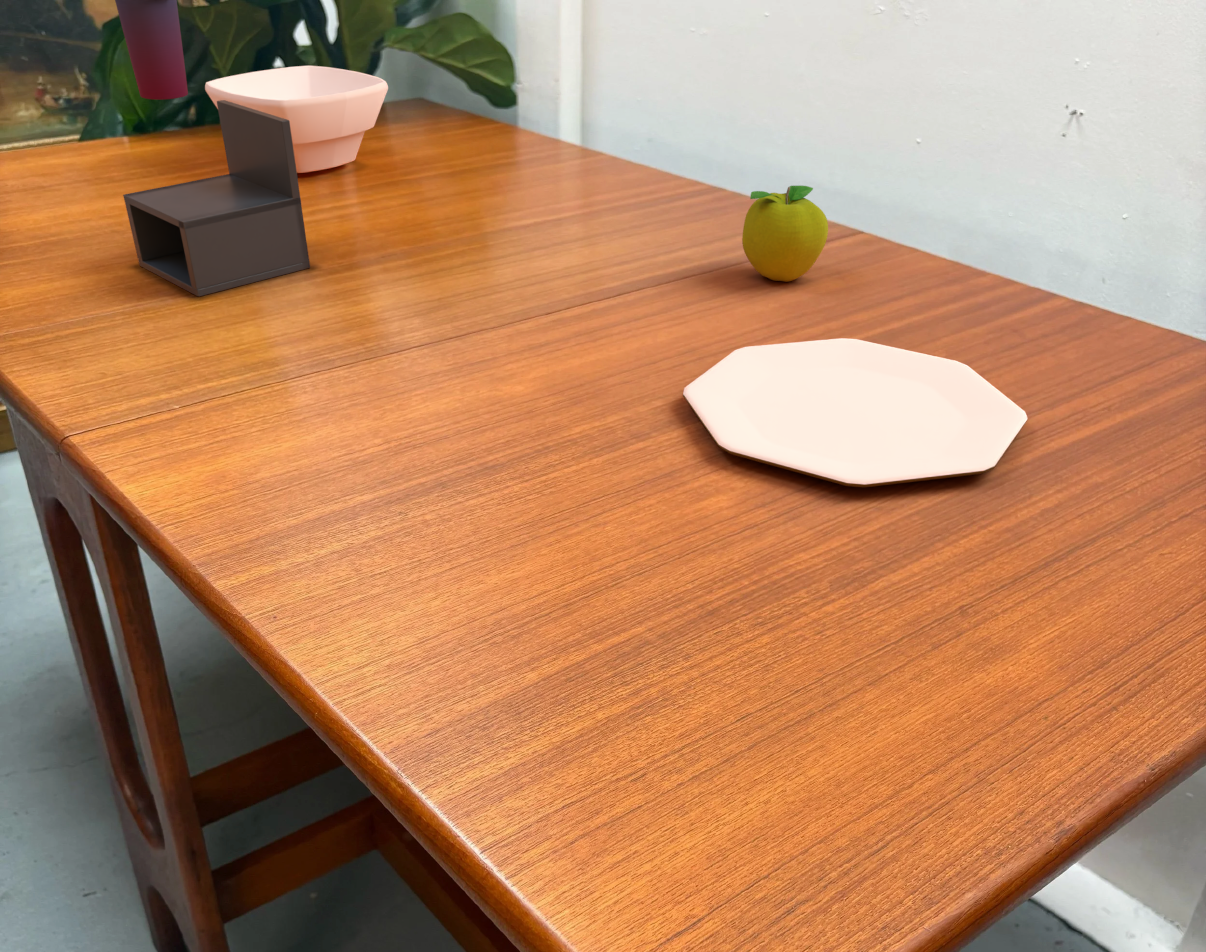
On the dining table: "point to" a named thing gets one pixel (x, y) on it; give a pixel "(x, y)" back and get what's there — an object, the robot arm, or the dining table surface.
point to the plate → (855, 412)
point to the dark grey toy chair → (227, 212)
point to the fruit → (784, 233)
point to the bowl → (311, 108)
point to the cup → (154, 47)
